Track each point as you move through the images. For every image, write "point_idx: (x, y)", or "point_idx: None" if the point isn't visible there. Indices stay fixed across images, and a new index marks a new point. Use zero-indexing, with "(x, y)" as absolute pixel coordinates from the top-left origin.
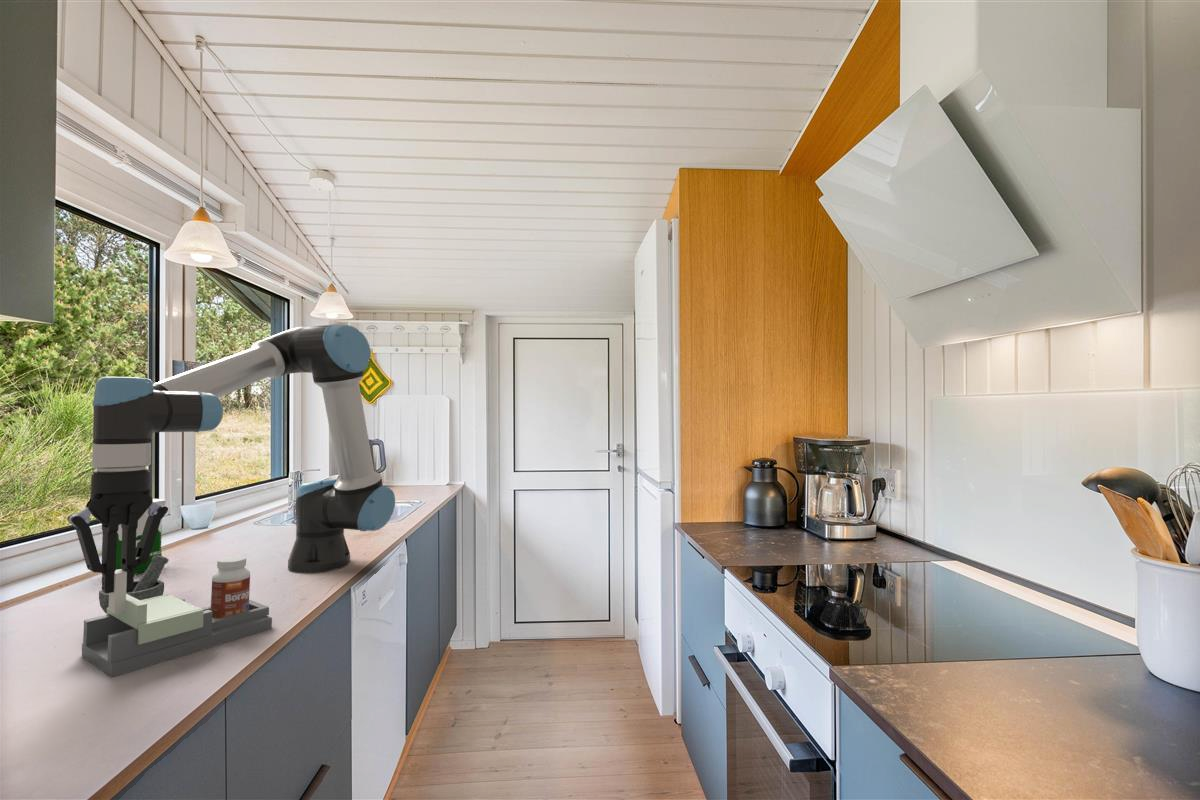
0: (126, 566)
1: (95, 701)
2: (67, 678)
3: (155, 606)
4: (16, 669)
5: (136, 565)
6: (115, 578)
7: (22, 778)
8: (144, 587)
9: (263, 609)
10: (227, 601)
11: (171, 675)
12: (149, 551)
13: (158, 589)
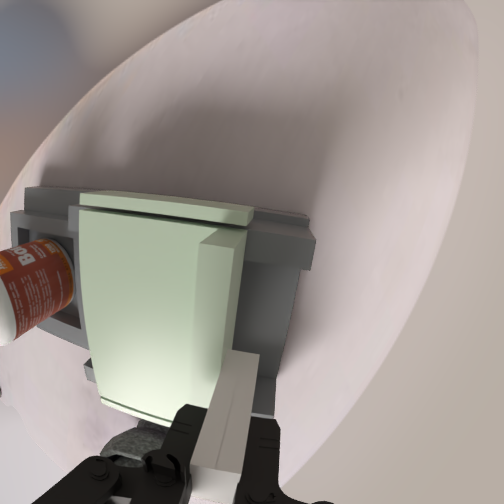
0: (184, 487)
1: (374, 124)
2: (344, 294)
3: (142, 354)
4: (347, 402)
5: (137, 473)
6: (244, 454)
7: (470, 23)
8: (128, 466)
9: (17, 212)
10: (32, 257)
11: (240, 106)
12: (58, 491)
13: (111, 446)
